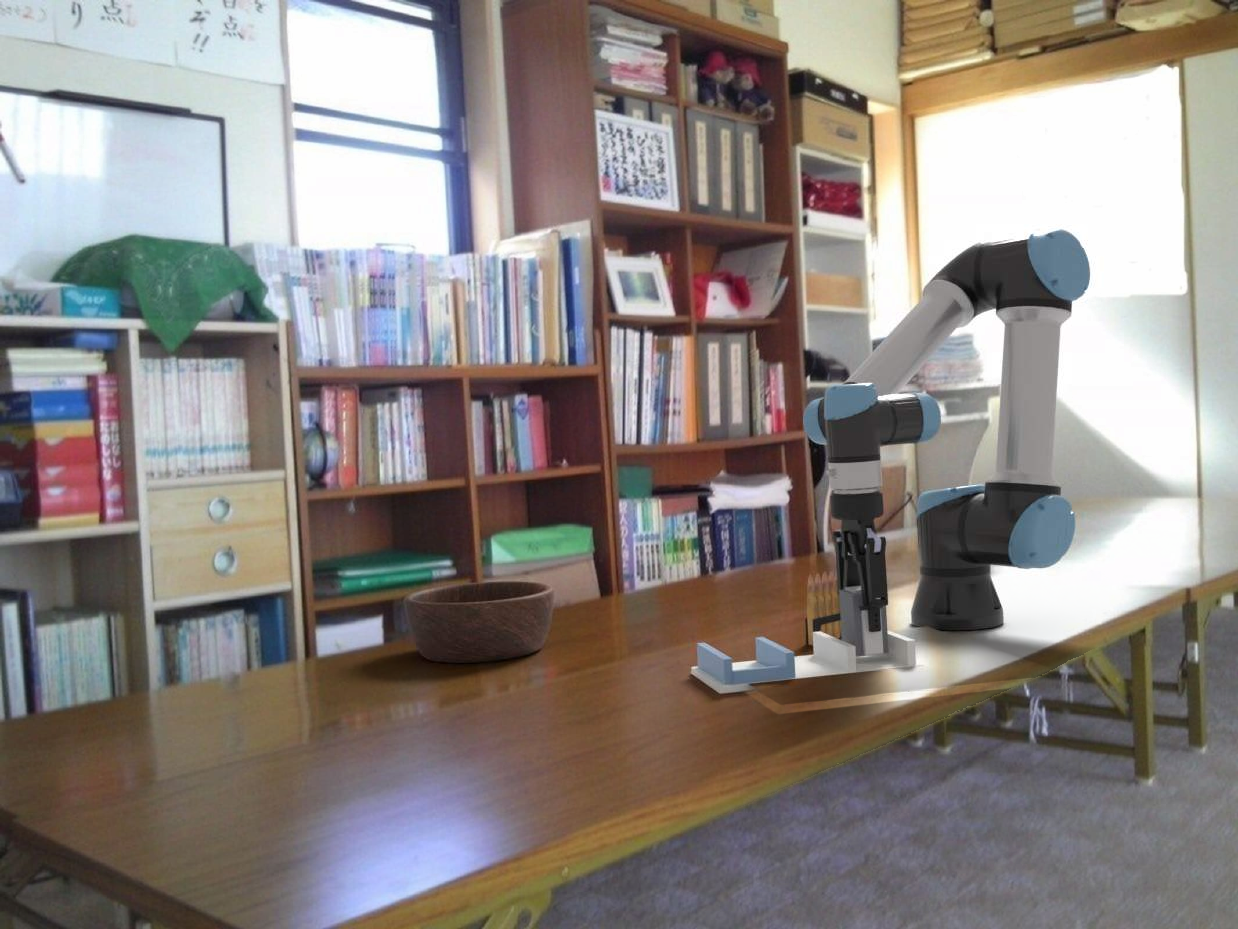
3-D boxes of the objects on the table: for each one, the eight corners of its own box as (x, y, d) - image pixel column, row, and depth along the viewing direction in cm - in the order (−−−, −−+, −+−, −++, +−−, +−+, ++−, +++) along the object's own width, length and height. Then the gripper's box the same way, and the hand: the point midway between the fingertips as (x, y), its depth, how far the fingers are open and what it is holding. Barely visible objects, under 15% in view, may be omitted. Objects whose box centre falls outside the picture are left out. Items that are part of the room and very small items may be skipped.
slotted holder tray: (881, 654, 190) (880, 624, 190) (923, 672, 176) (922, 640, 176) (691, 673, 183) (689, 643, 183) (719, 693, 170) (718, 660, 169)
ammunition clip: (815, 652, 194) (811, 575, 194) (805, 651, 196) (802, 574, 195) (856, 641, 201) (853, 567, 201) (847, 639, 203) (844, 566, 202)
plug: (874, 646, 185) (870, 583, 184) (888, 653, 180) (885, 588, 179) (842, 650, 184) (838, 587, 183) (856, 657, 179) (852, 591, 178)
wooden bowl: (376, 659, 209) (372, 597, 208) (489, 634, 227) (486, 577, 227) (474, 674, 192) (470, 608, 191) (587, 646, 210) (584, 585, 210)
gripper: (808, 489, 189) (817, 642, 190) (856, 496, 171) (866, 664, 172) (854, 485, 190) (863, 636, 191) (907, 492, 173) (917, 658, 174)
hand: (865, 649), depth 182 cm, fingers closed on plug, 5 cm apart
